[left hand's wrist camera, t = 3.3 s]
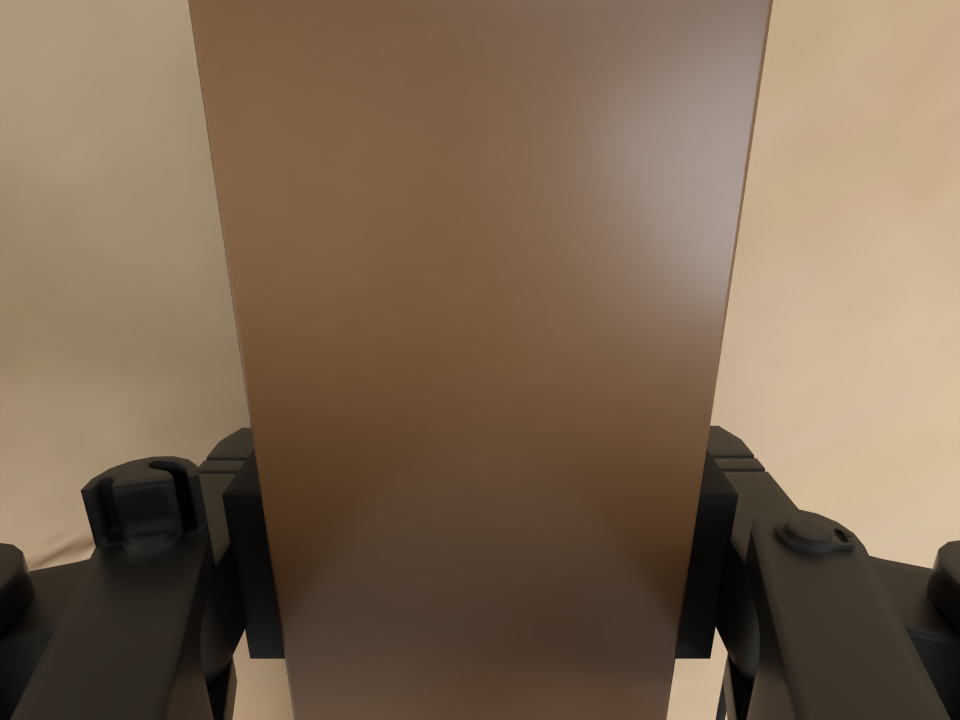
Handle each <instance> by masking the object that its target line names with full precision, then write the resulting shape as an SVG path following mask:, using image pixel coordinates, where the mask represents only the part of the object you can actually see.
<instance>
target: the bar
mask: <svg viewBox="0 0 960 720" xmlns="http://www.w3.org/2000/svg"><path fill="white" fill-rule="evenodd" d="M188 2H189V8H190V15H191V22H192V29H193V35H194V42H195V49H196V56H197V63H198V69H199V76H200V83H201V90H202V97H203V103H204V110H205V117H206V124H207V131H208V137H209V144H210V151H211V158H212V164H213V171H214V178H215V185H216V192H217V198H218V205H219V212H220V219H221V226H222V232H223V239H224V246H225V253H226V259H227V266H228V273H229V280H230V287H231V293H232V300H233V307H234V314H235V321H236V327H237V334H238V341H239V348H240V355H241V361H242V368H243V375H244V382H245V388H246V395H247V402H248V409H249V416H250V422H251V429H252V436H253V443H254V450H255V456H256V463H257V470H258V477H259V483H260V490H261V497H262V504H263V511H264V517H265V524H266V531H267V538H268V545H269V551H270V558H271V565H272V572H273V579H274V585H275V592H276V599H277V606H278V612H279V619H280V626H281V633H282V640H283V646H284V653H285V660H286V667H287V674H288V680H289V687H290V694H291V701H292V707H293V714H294V720H666V718H667V711H668V705H669V698H670V691H671V684H672V678H673V671H674V664H675V657H676V651H677V644H678V637H679V630H680V624H681V617H682V610H683V603H684V597H685V590H686V583H687V576H688V570H689V563H690V556H691V549H692V543H693V536H694V529H695V522H696V516H697V509H698V502H699V495H700V489H701V482H702V475H703V468H704V462H705V455H706V448H707V441H708V435H709V428H710V421H711V414H712V408H713V401H714V394H715V387H716V381H717V374H718V367H719V360H720V354H721V347H722V340H723V333H724V327H725V320H726V313H727V306H728V300H729V293H730V286H731V279H732V273H733V266H734V259H735V252H736V246H737V239H738V232H739V225H740V219H741V212H742V205H743V198H744V192H745V185H746V178H747V171H748V165H749V158H750V151H751V144H752V138H753V131H754V124H755V117H756V111H757V104H758V97H759V90H760V84H761V77H762V70H763V63H764V57H765V50H766V43H767V36H768V30H769V23H770V16H771V9H772V3H773V0H188Z"/></svg>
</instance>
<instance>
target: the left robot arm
mask: <svg viewBox="0 0 960 720" xmlns="http://www.w3.org/2000/svg"><path fill="white" fill-rule="evenodd" d="M81 493H82V497H83V501H84V504H85V508H86V512H87V515H88V519H89V523H90V527H91V530H92V534H93V538H94V542H95V545H96V548H95V550H94V552H93V554H92V556H91V558H90V559H88V560H84V561H80V562H75V563H70V564H65V565H60V566H55V567H50V568H45V569H40V570H35V571H30V572H29V570H28V567H27V564H26V561H25V558H24V555H23V552H22V551H21V550H19V549H18V548H17V547H15V546H14V545H11V544H3V543H0V720H232V718H233V710H234V702H235V694H236V686H237V678H236V671H235V665H234V660H233V654H234V651H235V649H236V647H237V645H238V643H239V641H240V638H241V636H242V634H243V632H244V630H245V631H246V636H247V642H248V648H249V654H250V658H285V653H284V646H283V640H282V633H281V626H280V619H279V612H278V606H277V599H276V592H275V585H274V579H273V572H272V565H271V558H270V551H269V545H268V538H267V531H266V524H265V517H264V511H263V504H262V497H261V490H260V483H259V477H258V470H257V463H256V456H255V450H254V443H253V436H252V429H251V428H241V429H240V430H238V431H236V432H235V433H233V434H231V435H230V436H228V437H226V438H225V439H223V440H221V441H220V442H219V443H218V444H217V445H216V447H215V448H214V449H213V450H212V452H211V453H210V454H209V455H208V457H207V461H203V463H202V464H201V465H200V466H199V468H198V467H197V466H196V465H195V464H194V463H192V462H191V461H190V460H188V459H184V458H179V457H174V456H164V457H149V458H144V459H139V460H134V461H130V462H127V463H124V464H122V465H119V466H116V467H113V468H111V469H108V470H107V471H105V472H103V473H102V474H100V475H98V476H96V477H95V478H93V479H91V481H90V482H89V483H88V484H87V485H86V486H85V487H84V488H83V489H82V490H81ZM715 627H716V628H717V630H718V632H719V634H720V637H721V639H722V641H723V643H724V645H725V647H726V649H727V652H728V655H727V660H726V665H725V671H724V676H723V681H722V687H721V692H720V697H719V703H718V708H717V715H716V720H725V716H726V711H727V717H728V720H960V541H952V542H948V543H946V544H945V545H944V546H942V547H941V548H940V549H939V550H938V553H937V556H936V560H935V563H934V566H933V569H930V568H925V567H920V566H915V565H910V564H905V563H899V562H894V561H889V560H884V559H880V558H876V557H872V556H869V555H868V553H867V551H866V549H865V547H864V545H863V544H862V543H861V542H860V540H859V539H858V538H857V537H856V535H855V534H854V533H852V532H851V531H849V530H848V529H847V528H845V527H844V526H842V525H841V524H839V523H838V522H836V521H833V520H831V519H829V518H826V517H824V516H821V515H819V514H816V513H812V512H808V511H803V510H799V509H798V508H797V507H796V506H795V504H794V503H793V502H792V501H791V500H790V498H789V497H788V496H787V495H786V493H785V492H784V491H783V490H782V489H781V487H780V486H779V485H778V484H777V483H776V481H775V480H774V479H773V478H772V476H771V475H770V474H769V473H768V472H765V468H764V467H763V466H762V464H761V463H760V462H759V461H758V459H757V458H754V455H753V453H752V452H751V451H750V450H749V449H748V447H747V446H746V445H745V444H744V442H743V441H742V440H741V439H739V438H738V437H736V436H734V435H733V434H731V433H729V432H728V431H726V430H724V429H723V428H721V427H720V426H710V428H709V435H708V441H707V448H706V455H705V462H704V468H703V475H702V482H701V489H700V495H699V502H698V509H697V516H696V522H695V529H694V536H693V543H692V549H691V556H690V563H689V570H688V576H687V583H686V590H685V597H684V603H683V610H682V617H681V624H680V630H679V637H678V644H677V651H676V657H675V659H710V656H711V650H712V644H713V639H714V633H715Z"/></svg>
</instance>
